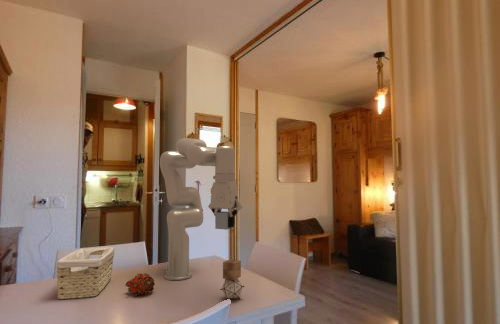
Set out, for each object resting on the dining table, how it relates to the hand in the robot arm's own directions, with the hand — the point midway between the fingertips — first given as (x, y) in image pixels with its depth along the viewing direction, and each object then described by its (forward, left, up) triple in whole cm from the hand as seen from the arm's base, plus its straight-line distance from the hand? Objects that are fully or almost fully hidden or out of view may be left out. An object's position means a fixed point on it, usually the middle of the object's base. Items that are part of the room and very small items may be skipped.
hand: (224, 226), depth 110 cm
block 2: (+1, +3, -20) cm, 20 cm away
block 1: (0, 0, -1) cm, 1 cm away
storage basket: (-58, -14, -28) cm, 66 cm away
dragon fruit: (-34, -9, -28) cm, 44 cm away
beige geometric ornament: (+1, +3, -28) cm, 28 cm away
